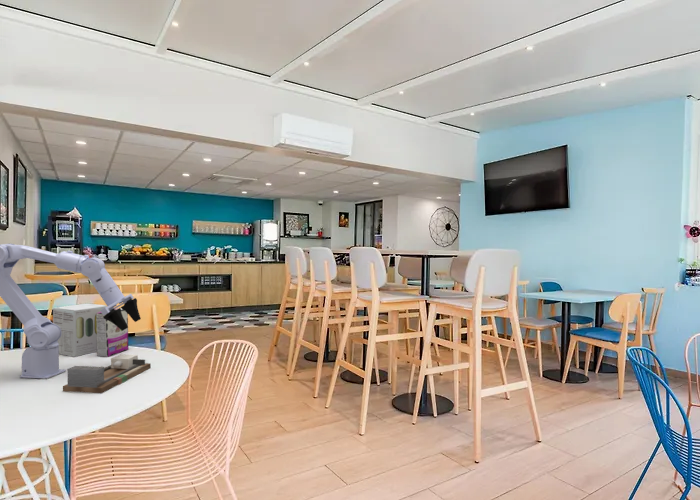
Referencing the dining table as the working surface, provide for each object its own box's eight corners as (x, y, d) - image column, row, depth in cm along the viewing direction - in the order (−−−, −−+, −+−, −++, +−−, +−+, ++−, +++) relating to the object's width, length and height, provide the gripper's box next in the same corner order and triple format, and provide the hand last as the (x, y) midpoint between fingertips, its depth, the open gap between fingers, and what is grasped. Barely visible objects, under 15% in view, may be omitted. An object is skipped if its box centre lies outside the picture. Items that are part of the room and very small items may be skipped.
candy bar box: (117, 349, 169) (117, 307, 168) (129, 349, 168) (128, 308, 167) (95, 356, 158) (95, 312, 157) (107, 357, 157) (107, 313, 156)
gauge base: (62, 391, 122) (62, 383, 122) (117, 366, 145) (117, 360, 145) (102, 393, 120) (102, 385, 120) (151, 367, 144) (151, 361, 144)
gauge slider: (106, 370, 136) (106, 360, 136) (120, 363, 143) (120, 354, 142) (136, 371, 135) (136, 361, 134) (149, 364, 142) (149, 355, 141)
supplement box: (74, 357, 156) (73, 310, 156) (52, 353, 162) (52, 307, 162) (108, 349, 168) (107, 305, 168) (87, 345, 174) (86, 302, 174)
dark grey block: (67, 386, 121) (67, 368, 121) (75, 382, 124) (75, 365, 124) (96, 387, 120) (96, 370, 120) (104, 384, 123) (104, 367, 123)
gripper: (104, 291, 133) (128, 327, 135) (130, 278, 147) (152, 311, 149) (86, 301, 134) (111, 337, 136) (114, 288, 148) (136, 320, 150)
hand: (131, 324), depth 143 cm, fingers open, 7 cm apart
